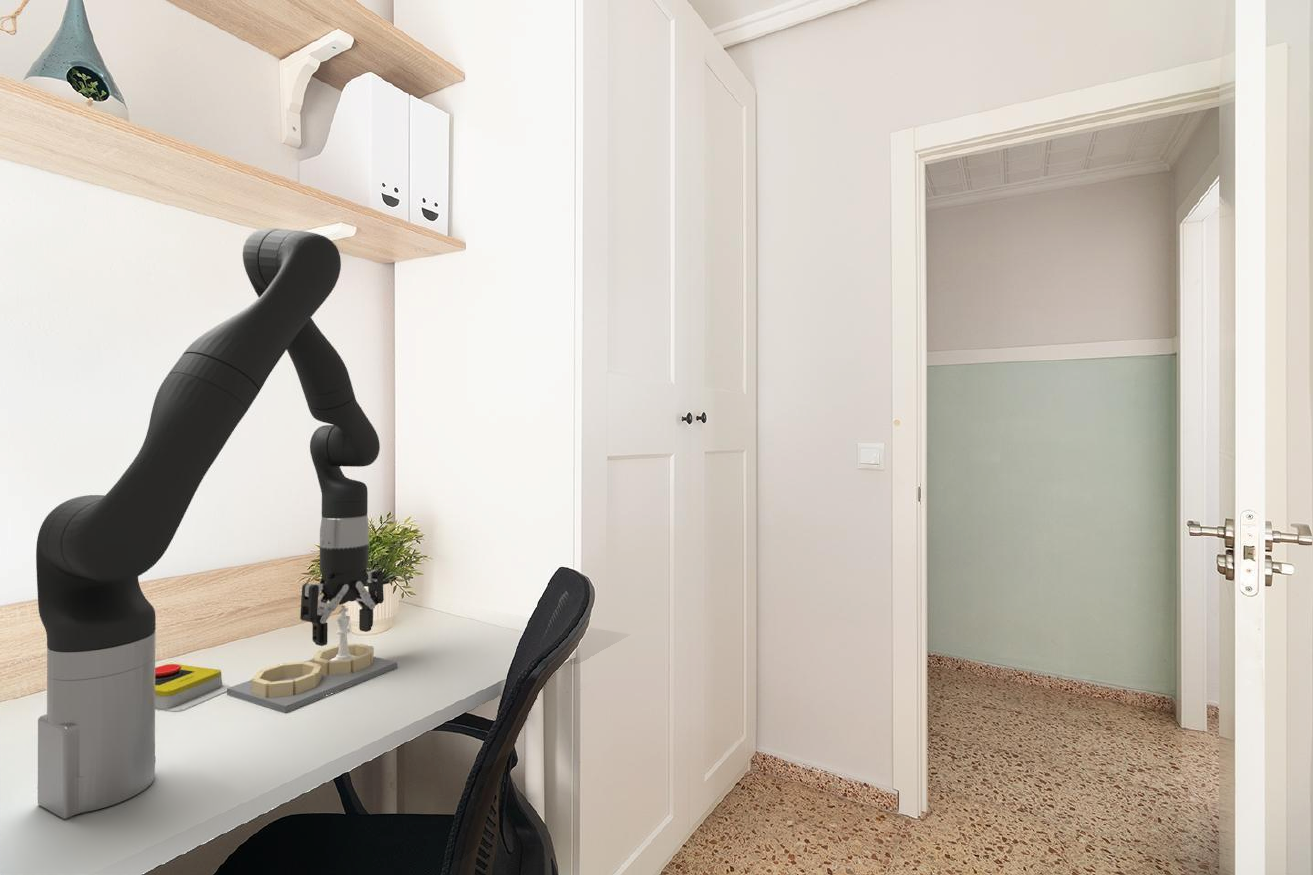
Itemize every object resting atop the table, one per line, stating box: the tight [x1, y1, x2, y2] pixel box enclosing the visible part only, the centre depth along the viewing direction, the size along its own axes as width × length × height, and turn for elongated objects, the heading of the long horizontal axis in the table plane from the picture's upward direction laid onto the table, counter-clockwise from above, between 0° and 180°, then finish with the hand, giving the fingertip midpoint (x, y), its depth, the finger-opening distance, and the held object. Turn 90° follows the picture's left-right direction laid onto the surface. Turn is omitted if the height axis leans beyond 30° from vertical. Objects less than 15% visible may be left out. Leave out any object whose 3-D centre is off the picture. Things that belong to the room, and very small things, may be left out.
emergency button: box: [155, 663, 232, 713], centre depth 98 cm, size 9×4×15 cm
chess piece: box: [330, 605, 356, 661], centre depth 108 cm, size 5×5×10 cm
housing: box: [226, 643, 398, 714], centre depth 104 cm, size 20×14×3 cm
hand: (344, 637), depth 109 cm, fingers open, 8 cm apart
